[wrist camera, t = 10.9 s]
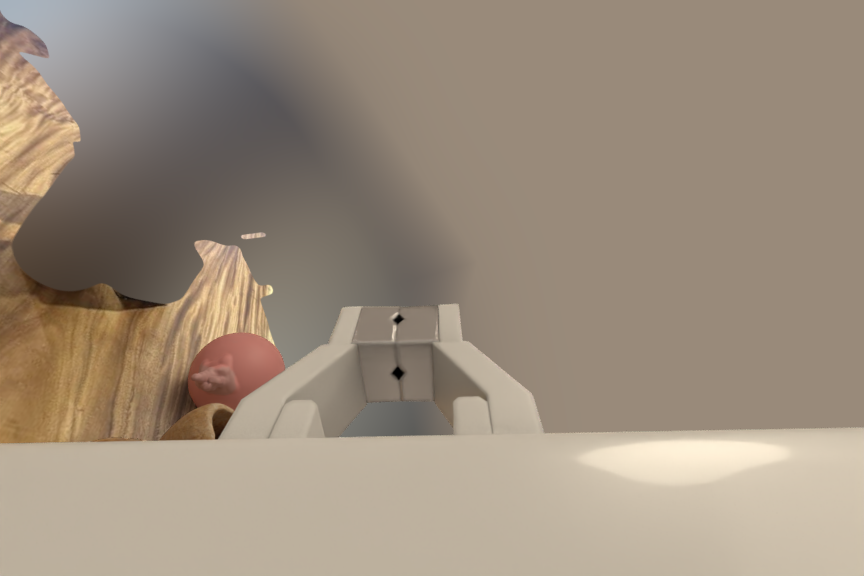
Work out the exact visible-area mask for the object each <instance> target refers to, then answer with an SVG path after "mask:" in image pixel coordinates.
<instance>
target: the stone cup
mask: <svg viewBox="0 0 864 576" xmlns="http://www.w3.org/2000/svg"><path fill="white" fill-rule="evenodd" d="M233 413H234V410H233V409H231V408H230V407H228V406H226V405H224V404H220V403H211V404H207V405H204V406H201V407H199V408H196V409H194V410H192V411H190V412H189V413H187V414H186V415H185V416H183V417H182V418H181V419H179V420H178V421H177V422H176V423H175V424H174V425H173V426H172V427H171V428H170V429H169V430H168V431H167V432H166V433H165V434H164V435H163V436H162V438H161V439H160V440H159V441H164V440H218V438H219V437H220V435H221V433H222V431H223V430H224V428H225V426H226V425H227V423H228V421H229V419H230V418H231V416H232V414H233ZM108 441H142V440H141V439H138V438H137V439H133V438H130V439H124V438H122V437H110V438H103V439H98V440H95V441H90V442H108Z"/></svg>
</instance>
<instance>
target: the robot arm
mask: <svg viewBox="0 0 864 576" xmlns="http://www.w3.org/2000/svg"><path fill="white" fill-rule="evenodd" d="M438 310H439V315H438ZM390 401H391V402H393V401H435V404H436V405H437V406H438V408H439V409H440V410H441V412H442V413H443V415H444V416H445V418H446V419H447V420H448V422H449V423H450V425H451V426H452V427H453V435H431V436H386V437H385V436H383V437H382V436H381V437H339V436H340V435H341V434H342V433H343V432H344V431H345V429H346V428H347V427H348V426H349V425H350V424H351V422H352V421H353V420H354V419H355V418H356V416H357V415H358V414H359V413H360V412H361V411H362V410H363V408H364V407H365V406H366V405H367V403H372V402H390ZM0 576H864V427H863V428H811V429H810V428H809V429H755V430H703V431H702V430H700V431H650V432H649V431H648V432H600V433H544V431H543V427H542V425H541V421H540V418H539V414H538V411H537V408H536V404H535V401H534V398H533V395H532V394H531V393H530V392H529V391H528V390H527V389H525V388H524V387H523V386H522V385H521V384H519V383H518V382H517V381H516V380H514V379H513V378H512V377H511V376H510V375H508V374H507V373H506V372H505V371H504V370H502V369H501V368H500V367H499V366H498V365H496V364H495V363H494V362H493V361H491V360H490V359H489V358H488V357H487V356H485V355H484V354H483V353H482V352H480V351H479V350H478V349H477V348H476V347H474V346H473V345H472V344H471V343H470V342H468V341H462V332H461V323H460V313H459V305H458V304H447V305H439V309H438V305H430V306H409V307H400V306H391V307H390V306H381V307H378V306H377V307H362V306H360V307H344V308H342V309H341V312H340V315H339V317H338V319H337V322H336V324H335V327H334V330H333V332H332V335H331V338H330V340H329V343H328V344H326V345H321V346H319V347H318V348H316V349H315V350H314V351H312V352H311V353H309V354H308V355H306V356H305V357H303V358H302V359H300V360H299V361H297V362H296V363H294V364H293V365H291V366H290V367H289V368H287V369H286V370H284V371H283V372H281V373H280V374H278V375H277V376H275V377H274V378H272V379H271V380H269V381H268V382H266V383H265V384H263V385H262V386H260V387H259V388H258V389H256V390H255V391H253V392H252V393H250V394H249V395H247V396H246V397H244V398H243V399H241V401H240V402H239V404H238V406H237V408H236V409H235V411H234V413H233V414H232V416H231V418H230V419H229V421H228V423H227V425H226V426H225V428H224V430H223V431H222V433H221V435H220V437H219V438H218V440H164V441H108V442H53V443H0Z"/></svg>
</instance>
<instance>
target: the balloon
mask: <svg viewBox="0 0 864 576" xmlns="http://www.w3.org/2000/svg"><path fill="white" fill-rule="evenodd" d="M284 370H285V365H284V361H283V358H282V356H281V354H280V352H279V351H278V349H277V348H276V347H275V346H274V345H273V344H272V343H271V342H270V341H268V340H267V339H265V338H263V337H261V336H258V335H255V334H251V333H232V334H228V335H224V336H221V337H219V338H217V339H215V340H213V341H212V342H210V343H209V344H207V345H206V346H205V347H204V348H203V349H202V350H201V351H200V352H199V353H198V354H197V356H196V357H195V359H194V361H193V362H192V365H191V367H190V370H189V374H188V389H189V393H190V396H191V398H192V400H193V402H194V404H195V405H196V406H197V407H198V408H199V407H201V406H204V405H207V404H211V403H220V404H224V405H226V406H228V407H230V408H231V409H233V410H234V411H235V409H236V408H237V406H238V404H239V402H240V401H241V399H243V398H244V397H246V396H247V395H249V394H250V393H252V392H253V391H255V390H256V389H258V388H259V387H260V386H262V385H263V384H265V383H266V382H268V381H269V380H271V379H272V378H274V377H275V376H277V375H278V374H280V373H281V372H283V371H284Z"/></svg>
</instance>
